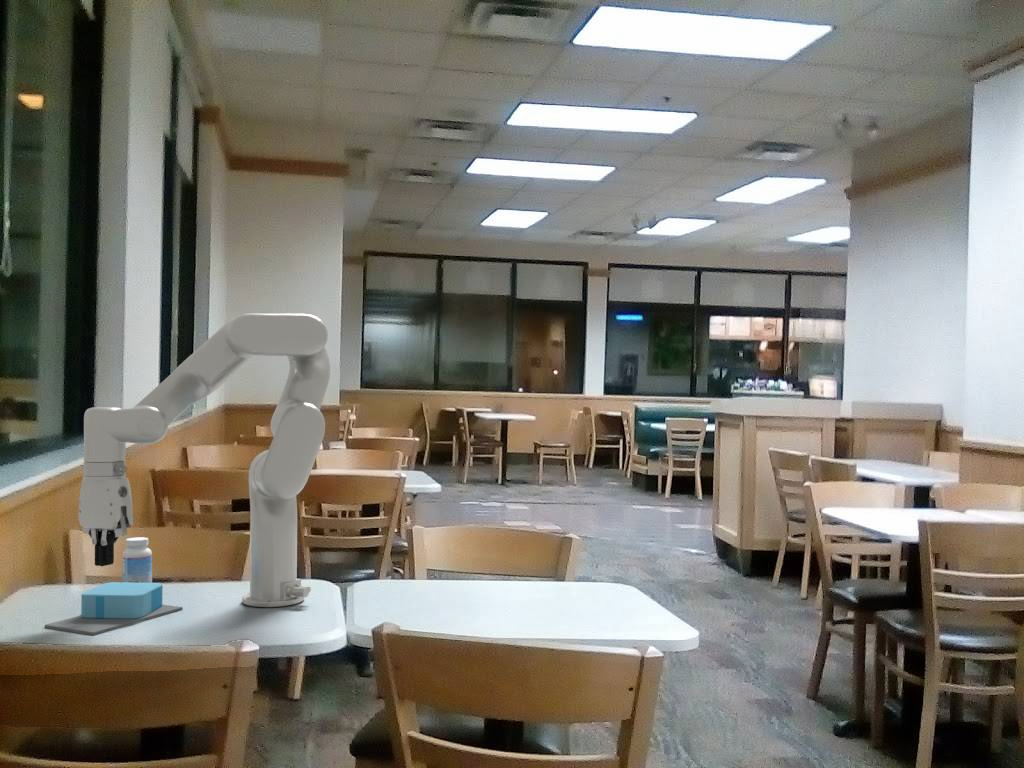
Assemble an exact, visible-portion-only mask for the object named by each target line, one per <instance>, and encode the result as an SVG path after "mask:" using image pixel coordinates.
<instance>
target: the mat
mask: <svg viewBox="0 0 1024 768" xmlns="http://www.w3.org/2000/svg"><path fill="white" fill-rule="evenodd" d="M179 611H183V606H175V605H169V604H162V606H161V607H160V608H158V609H156V610H154V611H153V612H151V613H149V614H147V615H145V616H144V617H142V618H137V619H110V618H83V617H82V616H81V615H77V616H74V617H70V618H66V619H63V620H57V621H53V622H50V623H47V624H44V628H45V629H51V630H59V631H64V632H71V633H78V634H84V635H91V636H96V635H100V634H102V633H106V632H109V631H113V630H115V629H116V630H117V629H121V628H123V627H124V628H125V627H127V626H130V625H134V624H138V623H141V622H144V621H148V620H151V619H155V618H159V617H163V616H166V615H169V614H172V613H176V612H179Z"/></svg>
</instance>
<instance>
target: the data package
mask: <svg viewBox="0 0 1024 768" xmlns="http://www.w3.org/2000/svg"><path fill="white" fill-rule="evenodd" d="M80 605H81V610H80V611H81V612H80V614H81V615H80V616H82V617H83V618H110V619H137V618H142V617H144V616H145V615H147V614H149V613H151V612H153V611H154V610H156V609H158V608H160V607H161V606H162V605H163V584H162V583H161V582H152V583H131V582H121V581H117V582H116V581H115V582H113V581H111V582H104V583H101V584H100V585H98V586H96V587H94V588H92V589H89V590H87V591H84V592H82V593H81V604H80Z"/></svg>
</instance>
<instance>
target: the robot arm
mask: <svg viewBox="0 0 1024 768" xmlns="http://www.w3.org/2000/svg"><path fill="white" fill-rule="evenodd" d="M328 336H329V334H328V329H327V326H326V324H325V323H324V322H323V321H322V319H320V318H319V317H317V316H316V315H313V314H307V313H306V314H305V313H253V312H250V313H242V314H240V315H236V316H235V317H233V318H231V319H230V320H229V321H227V322H226V323H225V324H224V325H223V326H222V327H220V328H219V329H218V330H217V331H216V332H215V333H214V334H212V336H210V337H209V338H208V339H207V340H206V341H205V342H203V344H202V345H201V346H199V347H198V348H197V349H196V350H195V351H194V352H192V354H190V355H189V356H188V357H186V359H185V360H183V362H181V364H179V365H178V366H177V367H176V368H175V369H174V370H173V372H172V373H170V374H169V375H168V376H167V377H166V378H165V379H164V380H162V382H160V383H159V384H158V385H157V386H156V387H155V388H153V389H152V390H151V391H150V392H149V393H148V394H147V395H146V396H145V397H144V398H143V399H141V400H140V401H139V402H137V404H136V405H134V406H133V407H132V408H131V407H130V408H121V407H117V406H115V407H113V406H98V407H96V406H95V407H94V406H93V407H90V408H87V409H86V410H85V412H84V415H83V477H82V479H81V486H80V491H79V498H78V499H79V501H78V522H79V524H80V526H81V527H82V528H81V529H82V530H81V531H82V533H84V534H86V535H88V536H89V537H90V539H91V542H92V545H93V546H94V566H98V567H106V566H110V565H114V563H115V560H114V559H115V555H114V553H115V544H117V540H118V539H119V538H120V537H125V536H127V535H128V530H127V528H130V527H132V526H133V524H134V514H133V513H134V512H133V510H134V509H133V498H132V497H133V496H132V489H131V485H130V480H129V477H126V472H127V471H128V467H127V466H126V450H127V449H126V443H129V444H138V445H153V444H156V443H158V442H160V441H162V440H163V439H164V437H165V436H166V435H167V433H168V430H169V425H170V424H172V423H173V422H174V421H175V420H176V419H177V418H179V416H181V415H182V414H183V413H184V412H185V411H186V410H188V409H189V408H190V407H191V406H193V405H194V404H197V402H199V401H201V400H203V399H205V398H206V397H210V396H211V394H213V393H214V392H215V391H217V390H218V389H219V388H220V387H221V386H222V385H223V384H224V383H226V381H227V380H228V379H230V378H231V377H233V375H234V374H235V373H236V372H237V371H239V369H241V367H242V366H244V365H245V364H246V363H247V362H248V361H249V360H251V359H252V357H253V356H262V357H263V356H265V357H266V356H268V357H269V356H272V357H273V356H274V357H278V356H279V357H287V359H288V362H289V370H288V371H289V372H288V375H287V379H286V382H285V385H284V388H283V390H282V392H281V395H280V398H279V400H278V403H277V405H276V408H275V410H274V412H273V414H272V418H271V420H270V430H271V434H272V436H273V438H272V440H271V443H270V446H269V449H267V450H264V451H262V452H260V453H259V454H257V456H255V457H254V459H253V460H252V461H251V463H250V467H249V469H248V491H249V505H250V507H249V509H250V510H249V511H250V518H249V520H250V521H249V522H250V527H249V529H250V530H249V538H250V539H249V542H250V544H249V593H248V592H247V593H246V594H244V595H242V597H241V602H242V603H243V605H245V606H249V607H255V608H280V607H287V606H293V605H296V604H299V603H301V602H303V601H304V600H305V598H307V597H309V595H310V593H311V590H312V588H311V587H310V586H306V585H302V579H301V578H297V577H298V570H297V569H298V503H297V502H298V501H297V500H298V499H297V495H298V494H300V493H301V492H302V490H303V489H304V487H305V486H306V484H307V482H308V480H309V477H310V476H311V475H310V474H311V472H312V469H313V467H314V464H315V462H316V459H317V457H318V454H319V451H320V449H321V445H322V444H323V443H322V442H323V441H324V437H325V431H326V420H325V417H324V415H323V413H322V412H321V407H322V404H323V401H324V399H325V395H326V392H327V389H328V385H329V382H330V376H331V363H330V359H329V354H328V351H327V349H326V347H325V346H326V344H327V342H328V338H329V337H328Z"/></svg>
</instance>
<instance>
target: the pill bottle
mask: <svg viewBox="0 0 1024 768" xmlns="http://www.w3.org/2000/svg"><path fill="white" fill-rule="evenodd" d="M148 546H149V538H148V537H144V536H143V537H142V536H141V537H140V536H139V537H137V536H136V537H129V538H126V539H125V547H126V549H124V550H123V552H122V559H121V561H122V563H121V564H122V567H121V568H122V571H121V572H122V573H121V575H122V582H131V583H153V553H152V550H151V549H150V548H149V547H148Z"/></svg>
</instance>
